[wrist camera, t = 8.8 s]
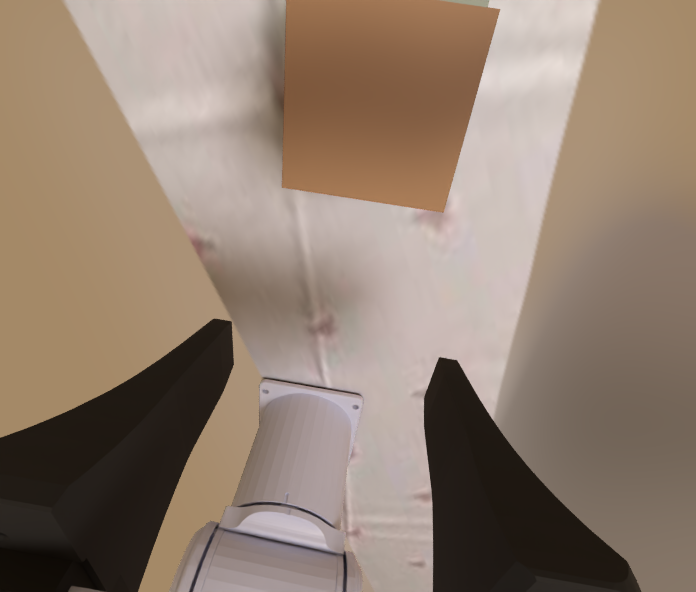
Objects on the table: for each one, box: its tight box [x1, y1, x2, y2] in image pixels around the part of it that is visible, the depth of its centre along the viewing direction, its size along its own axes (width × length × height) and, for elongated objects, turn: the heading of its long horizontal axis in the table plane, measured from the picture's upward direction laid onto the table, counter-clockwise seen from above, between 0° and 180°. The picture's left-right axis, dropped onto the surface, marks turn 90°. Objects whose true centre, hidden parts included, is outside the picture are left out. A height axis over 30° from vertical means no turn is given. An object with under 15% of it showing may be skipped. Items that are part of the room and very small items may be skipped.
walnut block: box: [282, 0, 500, 212], centre depth 11 cm, size 4×4×5 cm
